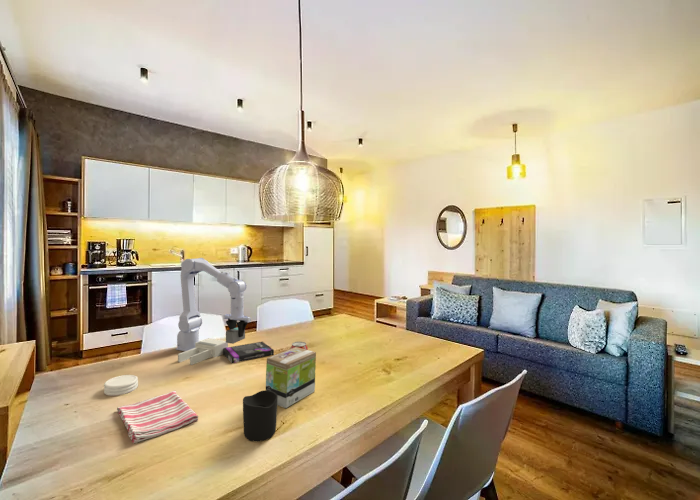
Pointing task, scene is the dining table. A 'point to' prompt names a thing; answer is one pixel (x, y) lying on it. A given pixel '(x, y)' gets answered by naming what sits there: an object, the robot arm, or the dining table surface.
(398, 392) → the dining table surface
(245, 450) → the dining table surface
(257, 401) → the pen holder
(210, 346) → the stand
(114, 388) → the coaster
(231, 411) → the dining table surface
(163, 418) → the dish towel
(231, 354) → the box
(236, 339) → the grey tapered block
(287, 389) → the tea box
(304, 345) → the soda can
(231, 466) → the dining table surface
